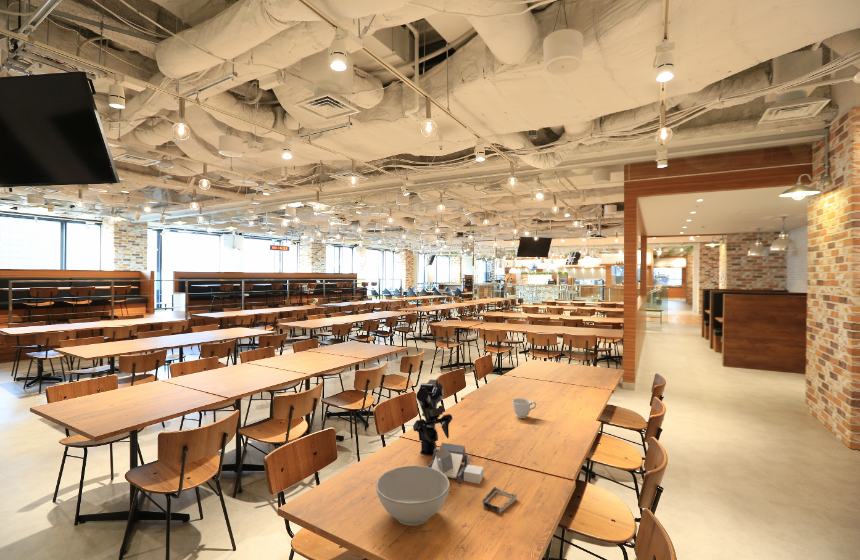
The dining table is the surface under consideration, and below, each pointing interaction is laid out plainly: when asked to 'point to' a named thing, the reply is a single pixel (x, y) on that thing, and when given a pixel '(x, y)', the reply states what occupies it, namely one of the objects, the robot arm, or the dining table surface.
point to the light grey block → (473, 474)
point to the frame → (461, 473)
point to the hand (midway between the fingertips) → (439, 439)
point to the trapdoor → (457, 458)
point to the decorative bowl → (412, 493)
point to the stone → (444, 460)
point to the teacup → (522, 407)
